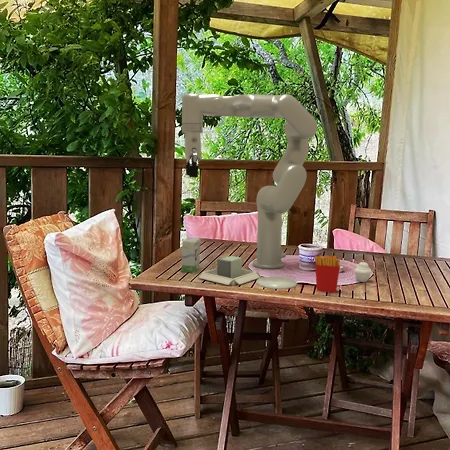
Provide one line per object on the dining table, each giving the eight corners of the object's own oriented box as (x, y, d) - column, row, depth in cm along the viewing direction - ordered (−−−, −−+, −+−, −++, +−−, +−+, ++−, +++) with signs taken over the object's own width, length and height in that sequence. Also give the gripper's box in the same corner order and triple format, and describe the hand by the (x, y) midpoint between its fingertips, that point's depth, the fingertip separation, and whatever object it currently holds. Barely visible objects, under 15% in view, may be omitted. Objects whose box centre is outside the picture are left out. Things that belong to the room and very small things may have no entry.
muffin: (359, 283, 187) (360, 264, 186) (350, 279, 193) (351, 260, 192) (374, 282, 189) (375, 263, 188) (365, 278, 195) (366, 259, 194)
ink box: (187, 266, 207) (187, 236, 205) (200, 267, 206) (200, 237, 204) (181, 272, 199) (181, 241, 197) (194, 272, 198) (194, 241, 196)
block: (230, 274, 197) (231, 255, 196) (241, 276, 194) (242, 258, 193) (217, 278, 191) (217, 259, 190) (228, 281, 188) (228, 261, 187)
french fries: (339, 290, 179) (341, 255, 177) (338, 293, 175) (340, 257, 173) (313, 287, 181) (315, 253, 179) (312, 290, 178) (313, 255, 176)
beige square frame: (225, 268, 205) (225, 263, 205) (265, 277, 194) (265, 271, 193) (193, 277, 191) (193, 272, 191) (234, 287, 179) (234, 281, 179)
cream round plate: (271, 276, 195) (271, 274, 195) (304, 283, 187) (304, 281, 187) (248, 283, 185) (248, 282, 184) (282, 291, 176) (282, 289, 176)
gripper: (206, 129, 185) (205, 178, 188) (199, 129, 202) (198, 174, 204) (184, 128, 183) (184, 178, 186) (179, 128, 200) (179, 174, 203)
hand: (191, 176), depth 195 cm, fingers open, 9 cm apart
